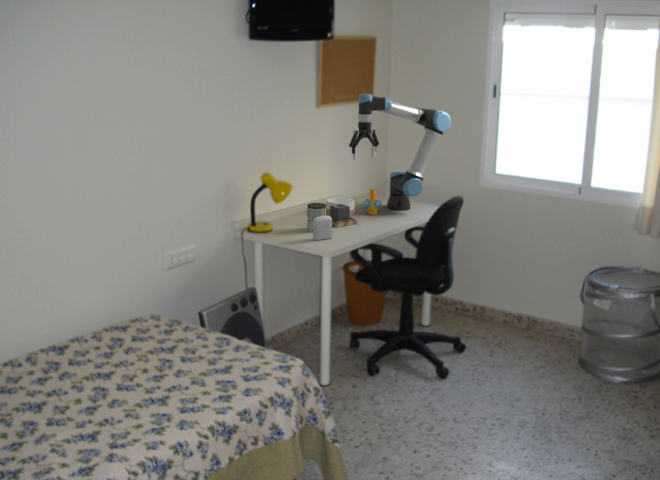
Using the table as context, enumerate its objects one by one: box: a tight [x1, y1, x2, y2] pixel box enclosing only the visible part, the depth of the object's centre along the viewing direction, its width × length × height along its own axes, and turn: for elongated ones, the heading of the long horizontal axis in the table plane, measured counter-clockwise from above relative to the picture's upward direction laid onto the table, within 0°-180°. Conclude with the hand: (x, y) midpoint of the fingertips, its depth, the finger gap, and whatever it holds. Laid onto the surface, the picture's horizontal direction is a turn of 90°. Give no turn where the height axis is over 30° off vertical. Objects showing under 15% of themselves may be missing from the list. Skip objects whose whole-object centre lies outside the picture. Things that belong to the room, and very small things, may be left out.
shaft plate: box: [332, 206, 358, 228], centre depth 384 cm, size 14×14×10 cm
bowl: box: [325, 196, 356, 217], centre depth 407 cm, size 17×17×8 cm
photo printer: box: [312, 215, 333, 241], centre depth 352 cm, size 10×4×12 cm, turn 118°
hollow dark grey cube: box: [330, 204, 351, 221], centre depth 384 cm, size 8×8×8 cm
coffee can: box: [306, 202, 327, 233], centre depth 369 cm, size 10×10×14 cm
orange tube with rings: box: [362, 188, 383, 216], centre depth 406 cm, size 12×10×15 cm
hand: (363, 158), depth 392 cm, fingers open, 13 cm apart
